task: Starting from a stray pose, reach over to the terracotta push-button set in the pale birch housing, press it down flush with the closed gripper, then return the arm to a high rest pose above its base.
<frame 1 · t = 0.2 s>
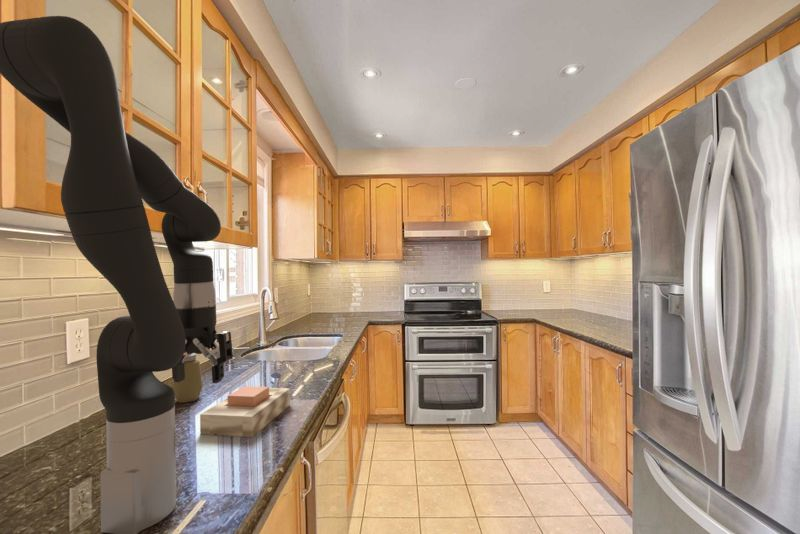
hand: (198, 381, 72), 18 cm above the countertop, tool pointing down, fingers open, 8 cm apart
button: (249, 398, 95), point 6 cm above the countertop, slide at 0.0 cm
squeeze bottle: (188, 400, 110), on the countertop
button housing: (249, 418, 95), on the countertop
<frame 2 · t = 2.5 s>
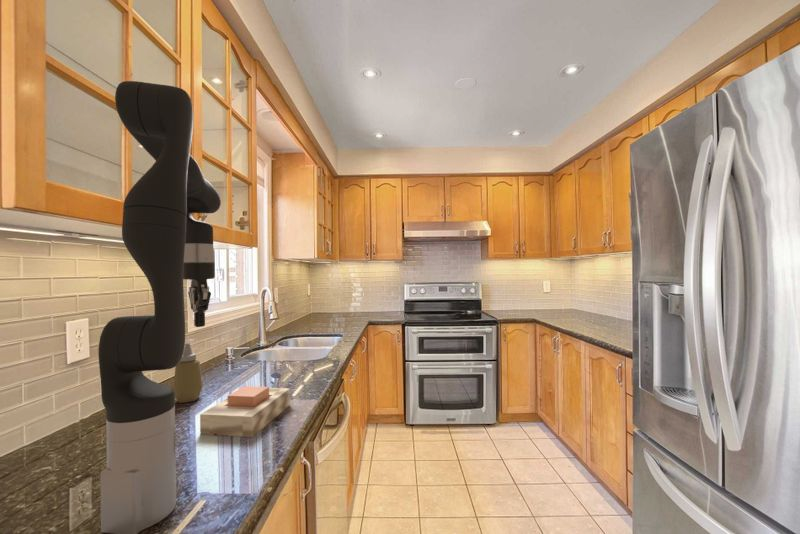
hand: (199, 326, 91), 26 cm above the countertop, tool pointing down, fingers closed
nothing on the countertop moved.
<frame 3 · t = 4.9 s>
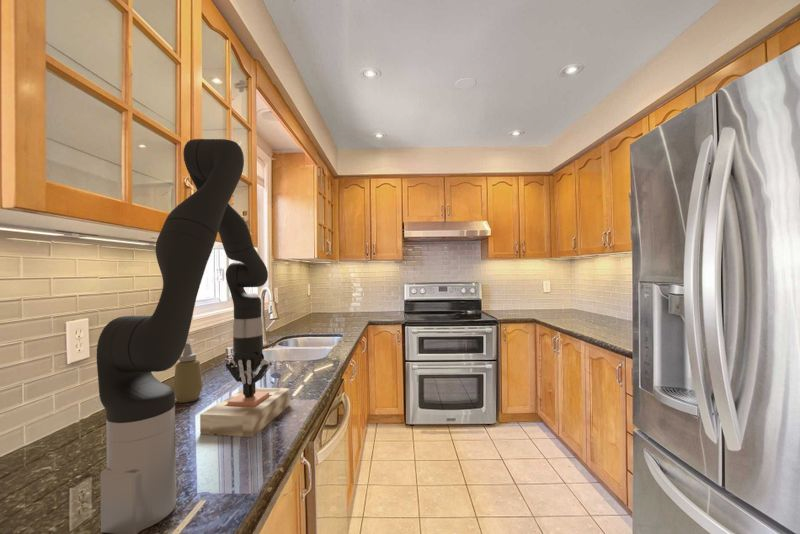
hand: (249, 396, 95), 6 cm above the countertop, tool pointing down, fingers closed
button: (249, 403, 95), point 4 cm above the countertop, slide at 1.5 cm, touching gripper
everything else where it was.
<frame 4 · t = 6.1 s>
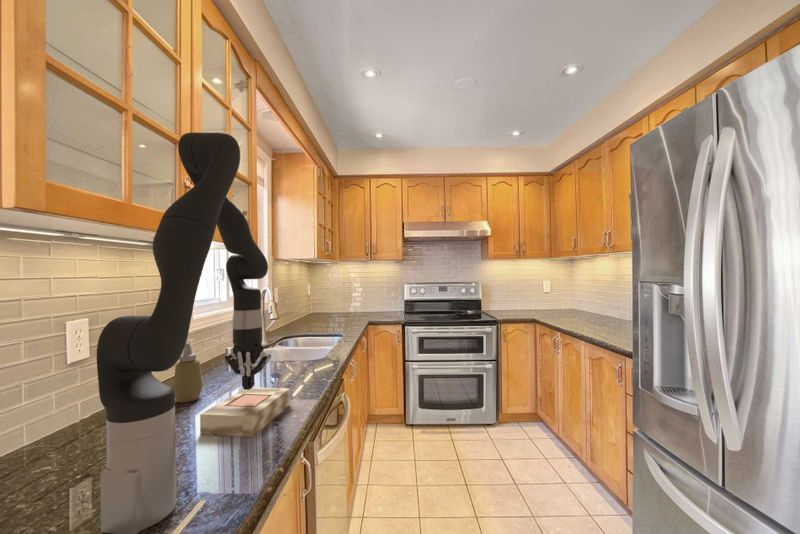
hand: (248, 388, 95), 8 cm above the countertop, tool pointing down, fingers closed
button: (249, 407, 95), point 3 cm above the countertop, slide at 2.6 cm
everything else where it was.
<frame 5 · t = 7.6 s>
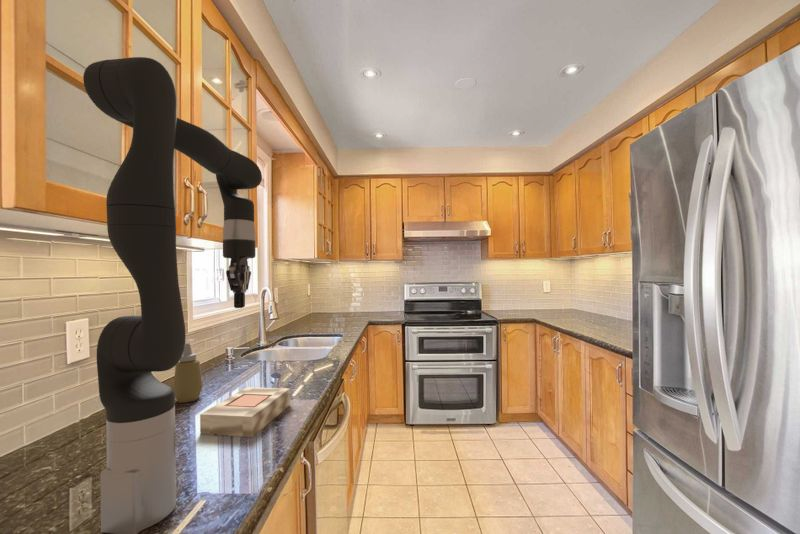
hand: (239, 307, 87), 31 cm above the countertop, tool pointing down, fingers closed
nothing on the countertop moved.
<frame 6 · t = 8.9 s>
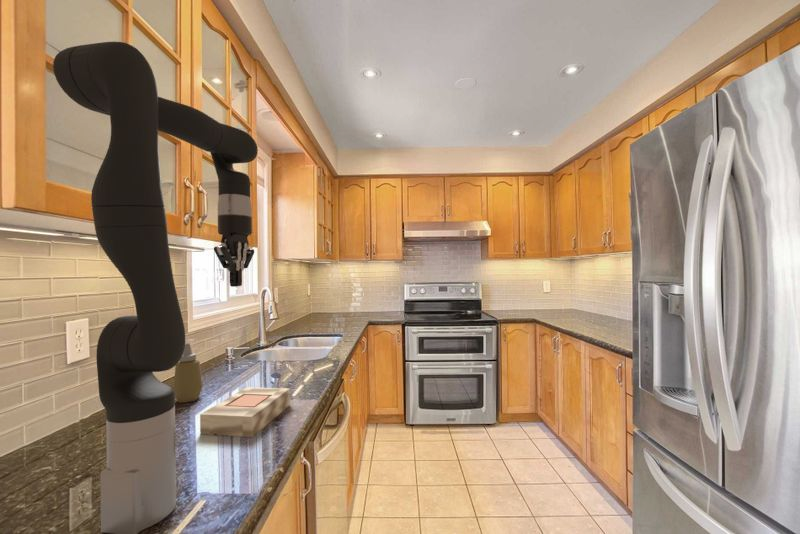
hand: (236, 286, 84), 37 cm above the countertop, tool pointing down, fingers closed
nothing on the countertop moved.
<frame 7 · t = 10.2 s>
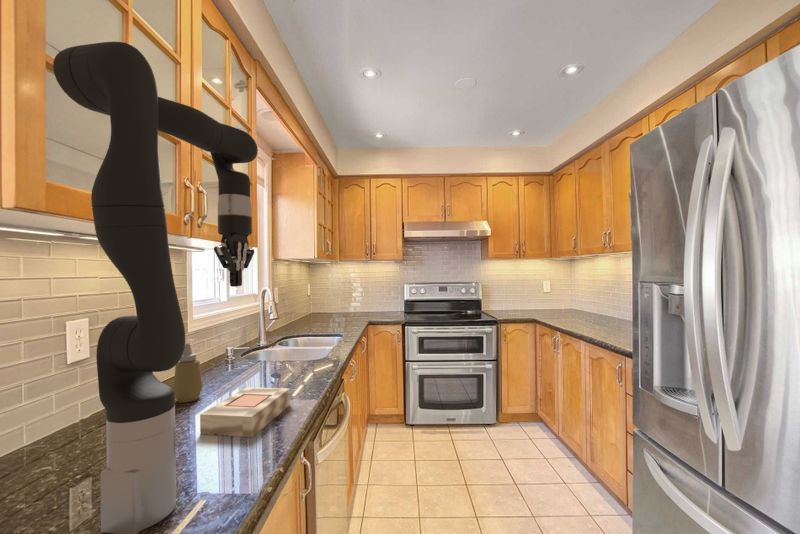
hand: (236, 286, 84), 37 cm above the countertop, tool pointing down, fingers closed
nothing on the countertop moved.
at the end: button slide at 2.6 cm; squeeze bottle moved 0.2 cm from its start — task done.
